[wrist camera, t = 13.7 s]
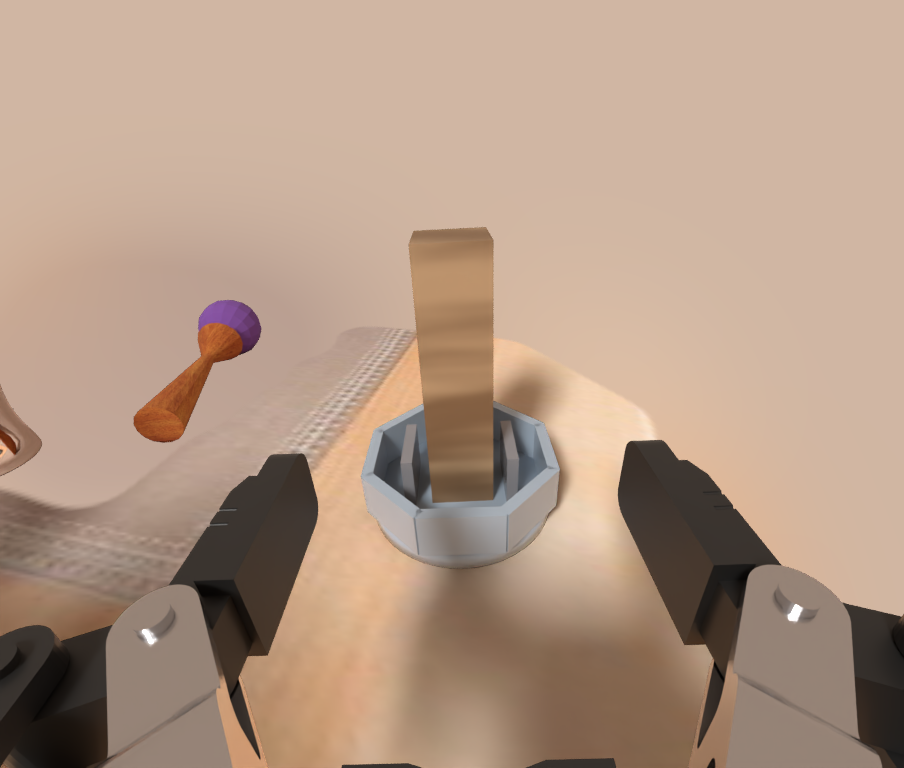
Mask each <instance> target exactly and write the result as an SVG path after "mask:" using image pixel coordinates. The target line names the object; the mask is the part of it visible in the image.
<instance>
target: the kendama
mask: <svg viewBox="0 0 904 768" xmlns="http://www.w3.org/2000/svg"><path fill="white" fill-rule="evenodd" d="M198 326H199V327H198V329H199V332H198V343H199V348H200V352H201V357H200V358H199V359H198V360H197V361H195V362H194V363H193V364H192V365H191V366H190V367H188V368H187V369H186V370H185V371H184V372H183V373H182V374H181V375H179V376H178V377H177V378H176V379H175V380H174V381H173V382H171V383H170V384H169V385H168V386H167V387H166V388H164V389H163V390H162V391H161V392H160V393H159V394H158V395H156V396H155V397H154V398H153V399H152V400H151V401H150V402H148V403H147V404H146V405H145V406H144V407H143V408H142V409H140V410H139V411H138V412H137V414H136V415H135V416H134V426H135V427H136V429H137V431H138V432H139V433H140V434H142V435H143V436H144V437H146V438H148V439H150V440H152V441H156V442H162V443H165V442H173V441H175V440H177V439H179V438H180V437H181V436H182V434H183V433H184V430H185V428H186V426H187V423H188V421H189V418H190V416H191V414H192V411H193V409H194V407H195V405H196V402H197V400H198V398H199V395H200V393H201V391H202V388H203V386H204V384H205V381H206V379H207V377H208V374H209V372H210V370H211V367H212V365H213V363H215V362H220V361H225V360H229V359H232V358H234V357H237V356H238V355H241V354H244V353H246V352H247V351H249V350H252V348H253V347H254V346H255V344H256V343H257V341H258V340H259V337H260V333H261V326H260V323H259V319H258V317H257V316H256V314H255V313H254V312H253V310H252V309H251V308H250V307H248V306H247V305H245V304H243V303H241V302H237V301H234V300H224V301H217V302H215V303H213V304H211V305H209V306H208V307H207V308H206V309H205V310H204V311H203V313H202V314H201V316H200V317H199V325H198Z"/></svg>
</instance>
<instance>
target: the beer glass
mask: <svg viewBox="0 0 904 768" xmlns="http://www.w3.org/2000/svg"><path fill="white" fill-rule="evenodd" d="M41 446H42V442H41V439H40V438H39V437H38V436H37V435H36V434H35V433H34V432H33V431H32V430H31V429H30V428H29V427H28V426H27V425H26V424H25V423H24V422H23V421H22V420H21V419H20V418H19V417H18V415H17V414H16V413H15V412H14V411H13V409H12V407H11V406H10V405H9V403H8V401H7V399H6V397H5V395H4V393H3V391H2V388H1V386H0V476H2V475H4V474H6V473H8V472H10V471H12V470H14V469H16V468H18V467H19V466H21V465H23V464H24V463H26V462H27V461H29V460H30V459H31V458H33V457H34V456H35V455H36V454H37V453H38V451H39V450H40V448H41Z"/></svg>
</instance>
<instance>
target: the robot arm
mask: <svg viewBox="0 0 904 768" xmlns="http://www.w3.org/2000/svg"><path fill="white" fill-rule="evenodd" d="M618 501H619V506H620V510H621V513H622V515H623V518H624V520H625V522H626V524H627V526H628V528H629V530H630V532H631V534H632V536H633V538H634V541H635V543H636V545H637V547H638V549H639V551H640V553H641V555H642V557H643V559H644V561H645V564H646V566H647V568H648V570H649V572H650V574H651V576H652V578H653V580H654V582H655V584H656V586H657V589H658V591H659V593H660V595H661V597H662V599H663V601H664V603H665V605H666V607H667V609H668V612H669V614H670V616H671V618H672V620H673V622H674V624H675V626H676V628H677V630H678V632H679V634H680V637H681V639H682V641H683V643H684V645H701V644H706V646H707V647H708V649H709V651H710V653H711V655H712V657H713V659H712V661H711V664H710V667H709V672H708V676H707V681H706V686H705V691H704V696H703V700H702V705H701V710H700V715H699V719H698V724H697V729H696V734H695V739H694V743H693V748H692V753H691V757H690V761H689V765H688V768H904V615H903V616H902V617H900V616H896V615H892V614H888V613H883V612H879V611H875V610H871V609H866V608H862V607H858V606H853V605H849V604H845V603H842V602H841V601H840V600H839V599H838V598H837V596H836V595H835V594H834V593H833V592H832V591H831V590H829V589H828V588H827V587H826V586H824V585H823V584H822V583H820V582H819V581H817V580H816V579H814V578H812V577H810V576H809V575H807V574H805V573H802V572H800V571H798V570H795V569H792V568H789V567H785V566H782V565H781V564H780V563H779V561H778V560H777V559H776V558H775V557H774V555H773V554H772V553H771V552H770V550H769V549H768V548H767V547H766V545H765V544H764V543H763V542H762V540H761V539H760V538H759V537H758V536H757V534H756V533H755V532H754V531H753V529H752V528H751V527H750V526H749V524H748V523H747V522H746V521H745V520H744V518H743V517H742V516H741V515H740V513H739V512H738V511H737V510H736V509H733V505H732V504H731V502H730V501H729V500H728V499H727V497H726V496H725V495H722V493H721V490H720V489H719V488H718V486H717V485H716V484H715V483H714V481H713V480H712V479H711V478H710V477H709V475H708V474H707V473H705V472H704V471H702V470H701V469H699V468H698V467H697V466H695V465H693V464H692V463H691V462H689V461H688V460H678V459H677V458H676V456H675V455H674V453H673V452H672V451H671V449H670V448H669V447H668V445H667V444H666V443H665V442H664V441H662V440H649V441H630V442H628V444H627V446H626V449H625V454H624V460H623V465H622V471H621V476H620V482H619V487H618ZM317 517H318V501H317V496H316V493H315V489H314V485H313V481H312V477H311V474H310V470H309V466H308V462H307V459H306V457H305V455H304V454H302V453H301V454H275V455H271V456H269V457H268V459H267V460H266V462H265V464H264V465H263V467H262V469H261V470H260V472H259V474H258V475H257V476H249V477H247V478H246V479H245V480H244V481H243V482H241V483H240V484H239V485H238V486H237V487H235V488H234V489H233V490H232V491H231V492H230V493H229V495H228V496H227V498H226V499H225V501H224V502H223V504H222V505H221V507H220V511H219V512H217V513H216V515H215V516H214V518H213V519H212V521H211V522H210V527H207V528H206V530H205V531H204V533H203V534H202V536H201V537H200V539H199V540H198V542H197V543H196V545H195V546H194V548H193V549H192V551H191V552H190V554H189V556H188V557H187V559H186V560H185V562H184V563H183V565H182V566H181V568H180V569H179V571H178V572H177V574H176V575H175V577H174V578H173V580H172V581H171V583H170V584H169V586H165V587H162V588H159V589H157V590H154V591H152V592H150V593H148V594H146V595H145V596H143V597H141V598H140V599H138V600H137V601H136V602H134V603H133V604H132V605H131V606H129V607H128V608H127V609H126V610H125V611H124V612H123V613H122V614H121V615H120V616H119V618H118V619H117V620H116V621H115V623H114V624H113V625H111V626H108V627H105V628H101V629H98V630H95V631H92V632H89V633H85V634H82V635H79V636H76V637H73V638H69V639H66V640H63V641H60V640H59V639H58V637H57V636H56V635H55V634H54V633H53V631H52V630H51V629H50V628H48V627H46V626H41V625H34V626H27V627H23V628H20V629H17V630H14V631H12V632H9V633H7V634H5V635H3V636H1V637H0V767H1V765H2V764H4V765H5V766H6V767H8V768H268V766H267V763H266V759H265V756H264V752H263V749H262V746H261V742H260V739H259V735H258V732H257V729H256V725H255V722H254V718H253V715H252V712H251V708H250V705H249V701H248V698H247V694H246V691H245V688H244V684H243V681H242V678H241V676H240V673H241V670H242V668H243V666H244V663H245V661H246V658H247V656H268V653H269V650H270V648H271V645H272V642H273V639H274V637H275V634H276V631H277V629H278V626H279V623H280V620H281V618H282V615H283V612H284V610H285V607H286V604H287V601H288V599H289V596H290V593H291V591H292V588H293V585H294V582H295V580H296V577H297V574H298V572H299V569H300V566H301V563H302V561H303V558H304V555H305V553H306V550H307V547H308V544H309V542H310V539H311V536H312V533H313V531H314V528H315V525H316V522H317ZM342 768H421V767H418V766H415V765H412V764H409V763H403V764H363V765H342ZM527 768H616V765H615V761H614V758H608V759H567V760H545V761H542V762H540V763H537V764H535V765H532V766H529V767H527Z"/></svg>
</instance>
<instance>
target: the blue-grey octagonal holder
mask: <svg viewBox="0 0 904 768" xmlns="http://www.w3.org/2000/svg"><path fill="white" fill-rule="evenodd" d="M559 473H560V468H559V465H558V462H557V459H556V456H555V453H554V450H553V447H552V444H551V442H550V439H549V436H548V433H547V430H546V427H545V424H544V423H543V422H541V421H538V420H536V419H534V418H532V417H529V416H527V415H525V414H522V413H520V412H518V411H516V410H513V409H511V408H509V407H506V406H504V405H502V404H500V403H497V402H495V401H493V500H487V501H466V502H445V503H433V502H432V491H431V481H430V470H429V459H428V448H427V438H426V427H425V416H424V405H423V404H421V405H419V406H417V407H416V408H414V409H412V410H410V411H408V412H406V413H404V414H402V415H400V416H399V417H397V418H395V419H393V420H391V421H389V422H387V423H385V424H383V425H382V426H380V427H378V428H376V429H375V430H374V431H373V435H372V438H371V442H370V446H369V449H368V453H367V456H366V460H365V463H364V467H363V470H362V474H361V479H362V484H363V490H364V495H365V500H366V505H367V510H368V513H370V514H371V515H372V516H373V517H374V518H375V519H376V520H377V522H378V525H379V527H380V529H381V531H382V532H383V534H384V535H385V537H386V538H387V539H388V540H389V542H390V543H391V544H392V545H393V546H394V547H396V548H397V549H398V550H400V551H401V552H402V553H404V554H406V555H408V556H409V557H411V558H413V559H416V560H418V561H421V562H423V563H426V564H430V565H434V566H438V567H446V568H474V567H481V566H486V565H491V564H494V563H497V562H500V561H503V560H505V559H507V558H509V557H511V556H513V555H515V554H517V553H518V552H520V551H521V550H523V549H524V548H525V547H527V546H528V545H529V544H530V543H531V542H532V541H533V540H534V539H535V538H536V537H537V535H538V534H539V533H540V531H541V530H542V528H543V526H544V525H545V522H546V519H547V517H548V513H549V512H550V511H551V510H552V509H553V508H554V507H555V506H556V503H557V493H558V483H559Z"/></svg>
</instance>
